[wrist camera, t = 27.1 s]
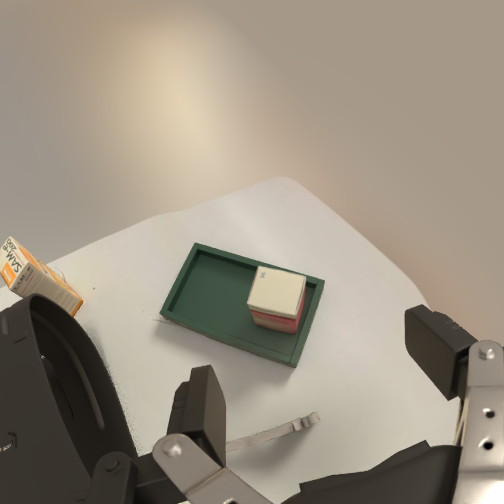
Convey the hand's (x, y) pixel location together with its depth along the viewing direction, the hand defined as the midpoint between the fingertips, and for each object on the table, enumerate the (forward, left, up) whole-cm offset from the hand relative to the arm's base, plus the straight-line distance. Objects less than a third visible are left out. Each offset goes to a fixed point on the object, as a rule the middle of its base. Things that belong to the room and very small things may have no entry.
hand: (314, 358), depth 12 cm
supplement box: (+28, -25, -25) cm, 45 cm away
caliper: (+10, +3, -25) cm, 27 cm away
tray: (+2, -13, -25) cm, 28 cm away
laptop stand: (+34, -6, -25) cm, 43 cm away
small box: (-2, -10, -24) cm, 26 cm away
